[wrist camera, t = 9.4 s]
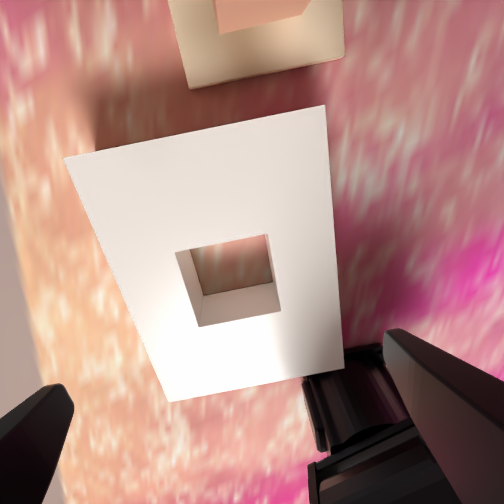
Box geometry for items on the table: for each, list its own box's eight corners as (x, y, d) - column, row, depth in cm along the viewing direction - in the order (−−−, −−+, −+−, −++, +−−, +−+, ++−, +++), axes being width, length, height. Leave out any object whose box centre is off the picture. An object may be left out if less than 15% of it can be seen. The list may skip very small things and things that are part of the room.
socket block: (306, 108, 16) (324, 104, 13) (328, 333, 23) (344, 368, 20) (95, 151, 16) (62, 158, 13) (177, 363, 23) (168, 402, 20)
